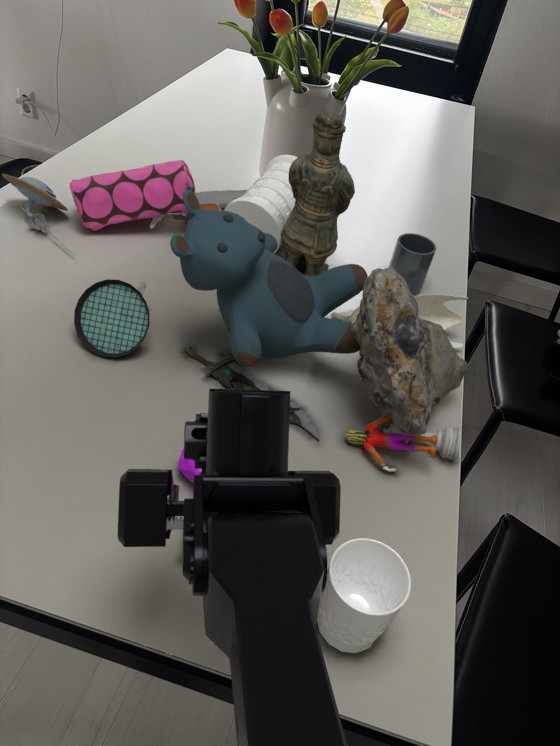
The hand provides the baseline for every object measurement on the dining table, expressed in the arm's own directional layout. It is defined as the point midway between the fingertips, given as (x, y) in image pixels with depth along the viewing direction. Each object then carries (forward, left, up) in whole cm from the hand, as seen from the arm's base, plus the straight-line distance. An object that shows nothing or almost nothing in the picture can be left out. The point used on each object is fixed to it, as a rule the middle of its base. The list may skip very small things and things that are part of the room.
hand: (223, 491), depth 61 cm
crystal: (+10, +3, -11) cm, 16 cm away
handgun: (+65, +2, -10) cm, 66 cm away
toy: (+55, +41, -12) cm, 69 cm away
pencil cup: (+59, -26, -11) cm, 65 cm away
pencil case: (+66, +26, -1) cm, 71 cm away
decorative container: (+59, +3, -5) cm, 59 cm away
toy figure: (+19, -21, -10) cm, 30 cm away
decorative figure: (+70, +37, -11) cm, 80 cm away
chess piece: (+20, -30, -9) cm, 37 cm away
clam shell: (+47, -21, -3) cm, 52 cm away
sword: (+29, -4, -11) cm, 31 cm away
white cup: (-6, -15, -11) cm, 20 cm away
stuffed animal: (+37, -10, -7) cm, 39 cm away
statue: (+57, -7, -11) cm, 58 cm away
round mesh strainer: (+31, +20, -6) cm, 38 cm away
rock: (+26, -14, -3) cm, 30 cm away
